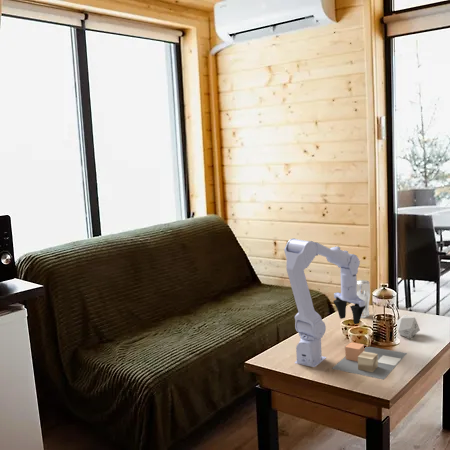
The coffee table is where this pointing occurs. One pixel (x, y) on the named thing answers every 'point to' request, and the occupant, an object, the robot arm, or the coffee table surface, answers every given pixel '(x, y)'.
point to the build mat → (385, 362)
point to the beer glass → (364, 295)
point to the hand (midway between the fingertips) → (349, 320)
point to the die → (407, 326)
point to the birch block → (367, 361)
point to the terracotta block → (353, 351)
